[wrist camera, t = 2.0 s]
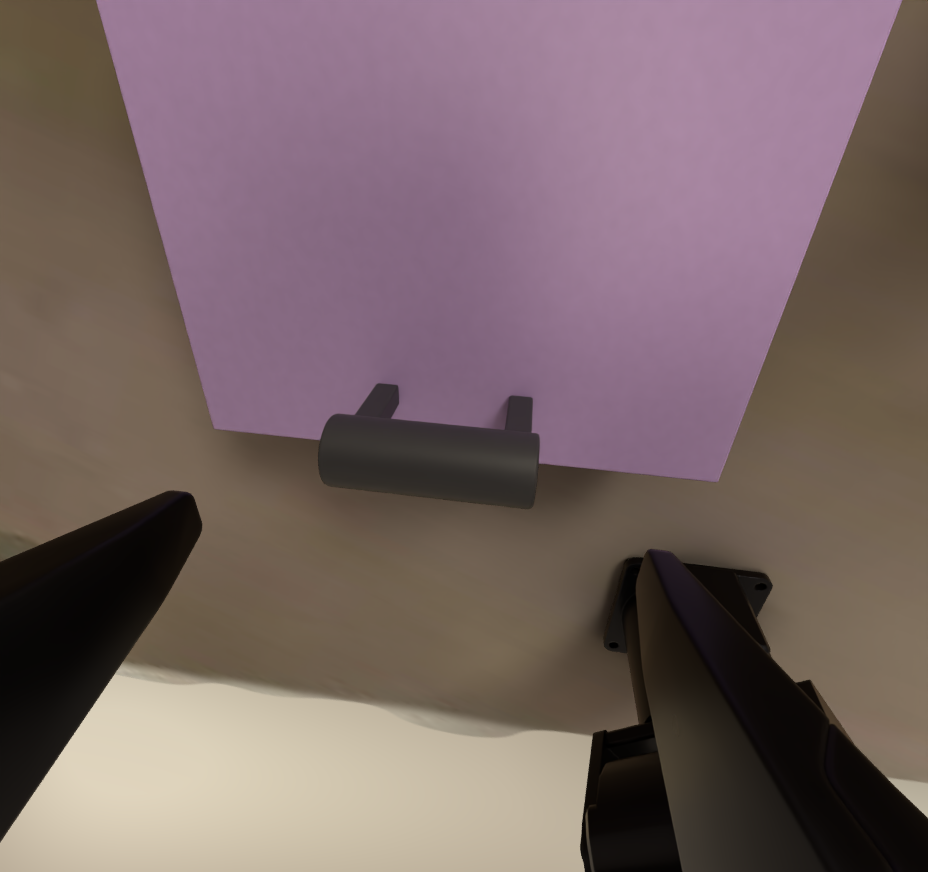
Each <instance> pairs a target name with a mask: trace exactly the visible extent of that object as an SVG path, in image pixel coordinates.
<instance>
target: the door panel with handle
mask: <svg viewBox="0 0 928 872" xmlns="http://www.w3.org/2000/svg"><path fill="white" fill-rule="evenodd" d="M96 1H97V5H98V9H99V12H100V16H101V20H102V23H103V27H104V31H105V34H106V38H107V42H108V45H109V49H110V52H111V56H112V60H113V63H114V67H115V71H116V74H117V78H118V82H119V85H120V89H121V93H122V96H123V100H124V103H125V107H126V111H127V114H128V118H129V122H130V125H131V129H132V133H133V136H134V140H135V144H136V147H137V151H138V154H139V158H140V162H141V165H142V169H143V173H144V176H145V180H146V184H147V187H148V191H149V195H150V198H151V202H152V205H153V209H154V213H155V216H156V220H157V224H158V227H159V231H160V235H161V238H162V242H163V246H164V249H165V253H166V256H167V260H168V264H169V267H170V271H171V275H172V278H173V282H174V286H175V289H176V293H177V296H178V300H179V304H180V307H181V311H182V315H183V318H184V322H185V326H186V329H187V333H188V337H189V340H190V344H191V347H192V351H193V355H194V358H195V362H196V366H197V369H198V373H199V377H200V380H201V384H202V388H203V391H204V395H205V398H206V402H207V406H208V409H209V413H210V417H211V420H212V424H213V428H214V429H218V430H228V431H237V432H247V433H256V434H265V435H275V436H284V437H294V438H303V439H313V440H320V444H319V452H318V466H319V473H320V477H321V479H322V481H323V482H324V484H326V485H328V486H331V487H340V488H348V489H357V490H366V491H374V492H383V493H392V494H400V495H409V496H417V497H426V498H435V499H443V500H452V501H461V502H469V503H478V504H487V505H495V506H504V507H512V508H521V509H531V508H532V507H533V504H534V499H535V493H536V485H537V476H538V466H539V464H549V465H558V466H568V467H577V468H586V469H596V470H605V471H615V472H624V473H634V474H643V475H653V476H662V477H671V478H681V479H690V480H700V481H709V482H718V480H719V478H720V475H721V472H722V470H723V467H724V465H725V462H726V459H727V457H728V454H729V452H730V449H731V446H732V444H733V441H734V438H735V436H736V433H737V431H738V428H739V425H740V423H741V420H742V418H743V415H744V412H745V410H746V407H747V405H748V402H749V399H750V397H751V394H752V391H753V389H754V386H755V384H756V381H757V378H758V376H759V373H760V371H761V368H762V365H763V363H764V360H765V357H766V355H767V352H768V350H769V347H770V344H771V342H772V339H773V337H774V334H775V331H776V329H777V326H778V323H779V321H780V318H781V316H782V313H783V310H784V308H785V305H786V303H787V300H788V297H789V295H790V292H791V290H792V287H793V284H794V282H795V279H796V276H797V274H798V271H799V269H800V266H801V263H802V261H803V258H804V256H805V253H806V250H807V248H808V245H809V242H810V240H811V237H812V235H813V232H814V229H815V227H816V224H817V222H818V219H819V216H820V214H821V211H822V208H823V206H824V203H825V201H826V198H827V195H828V193H829V190H830V188H831V185H832V182H833V180H834V177H835V174H836V172H837V169H838V167H839V164H840V161H841V159H842V156H843V154H844V151H845V148H846V146H847V143H848V141H849V138H850V135H851V133H852V130H853V127H854V125H855V122H856V120H857V117H858V114H859V112H860V109H861V107H862V104H863V101H864V99H865V96H866V93H867V91H868V88H869V86H870V83H871V80H872V78H873V75H874V73H875V70H876V67H877V65H878V62H879V59H880V57H881V54H882V52H883V49H884V46H885V44H886V41H887V39H888V36H889V33H890V31H891V28H892V25H893V23H894V20H895V18H896V15H897V12H898V10H899V7H900V5H901V2H902V0H96Z"/></svg>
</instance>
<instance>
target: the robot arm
mask: <svg viewBox="0 0 928 872" xmlns="http://www.w3.org/2000/svg"><path fill="white" fill-rule="evenodd" d="M201 531H202V521H201V518H200V515H199V512H198V509H197V505H196V502H195V499H194V497H193V496H192V495H191V494H190V493H188V492H182V491H174V490H173V491H167V492H164V493H162V494H159V495H157V496H155V497H152V498H150V499H148V500H145V501H143V502H141V503H138V504H136V505H133V506H131V507H129V508H126V509H124V510H122V511H119V512H117V513H115V514H112V515H110V516H107V517H105V518H103V519H100V520H98V521H96V522H93V523H91V524H89V525H86V526H84V527H81V528H79V529H77V530H74V531H72V532H70V533H67V534H65V535H63V536H60V537H58V538H56V539H53V540H51V541H48V542H46V543H44V544H41V545H39V546H37V547H34V548H32V549H30V550H27V551H25V552H22V553H20V554H18V555H15V556H13V557H11V558H8V559H6V560H4V561H1V562H0V842H1V841H2V839H3V838H4V836H5V835H6V833H7V832H8V830H9V829H10V827H11V826H12V824H13V823H14V821H15V820H16V818H17V817H18V816H19V814H20V813H21V811H22V809H23V808H24V807H25V805H26V804H27V802H28V801H29V799H30V798H31V796H32V795H33V793H34V792H35V790H36V789H37V787H38V786H39V784H40V783H41V782H42V780H43V779H44V777H45V776H46V774H47V773H48V771H49V770H50V768H51V767H52V765H53V764H54V763H55V761H56V760H57V758H58V757H59V755H60V754H61V752H62V751H63V749H64V747H65V746H66V745H67V743H68V742H69V740H70V739H71V737H72V736H73V735H74V733H75V732H76V730H77V729H78V727H79V726H80V724H81V723H82V721H83V720H84V718H85V717H86V715H87V714H88V712H89V711H90V709H91V708H92V707H93V705H94V703H95V702H96V701H97V699H98V698H99V696H100V695H101V693H102V692H103V690H104V689H105V687H106V686H107V684H108V683H109V681H110V680H111V679H112V677H113V676H114V674H115V673H116V671H117V670H118V668H119V667H120V665H121V664H122V662H123V661H124V659H125V658H126V656H127V655H128V654H129V652H130V651H131V649H132V648H133V646H134V645H135V643H136V642H137V640H138V639H139V637H140V636H141V634H142V633H143V631H144V630H145V628H146V627H147V626H148V624H149V623H150V621H151V620H152V618H153V617H154V615H155V614H156V612H157V611H158V609H159V608H160V606H161V605H162V603H163V601H164V600H165V598H166V596H167V595H168V593H169V591H170V590H171V588H172V586H173V584H174V582H175V580H176V579H177V577H178V575H179V573H180V571H181V569H182V568H183V566H184V564H185V562H186V560H187V558H188V557H189V555H190V553H191V551H192V549H193V547H194V546H195V544H196V542H197V540H198V538H199V536H200V534H201ZM637 567H638V569H633V568H637ZM758 583H760V584H758ZM772 586H773V585H772V583H771V581H770V579H769V577H768V576H767V575H766V574H764V573H760V572H752V571H743V570H735V569H727V568H719V567H711V566H703V565H695V564H687V563H681V561H680V560H679V559H678V558H677V557H676V556H675V555H674V554H673V553H671V552H669V551H663V550H655V549H650V550H647V552H646V553H645V555H644V558H638V557H636V558H630V559H628V560H627V561H626V562H625V564H624V568H623V571H622V575H621V578H620V581H619V585H618V588H617V592H616V595H615V599H614V602H613V606H612V609H611V613H610V616H609V619H608V623H607V626H606V630H605V633H604V637H603V640H604V647H605V648H606V649H607V650H610V651H615V652H622V653H627V655H628V661H629V667H630V673H631V679H632V685H633V691H634V697H635V703H636V709H637V715H638V721H639V724H638V725H634V726H630V727H626V728H622V729H618V730H614V731H610V732H607V731H606V730H603V731H599V732H595V733H593V739H592V747H591V755H590V764H589V771H588V779H587V788H586V796H585V804H584V813H583V820H582V835H581V844H580V850H581V856H582V859H583V862H584V868H585V872H928V818H927V817H926V816H925V815H924V814H923V813H922V812H921V811H920V810H919V809H918V808H917V807H916V806H915V805H914V804H913V803H912V802H910V800H908V799H907V798H906V797H905V796H904V795H903V794H902V793H901V792H900V791H899V790H898V789H897V788H896V787H895V786H894V785H893V784H892V783H891V782H890V781H889V780H888V779H887V778H886V777H885V776H884V775H883V774H882V773H881V772H880V771H879V770H878V769H877V768H876V767H875V766H874V765H873V764H872V763H871V761H870V760H869V759H868V758H867V757H866V756H865V755H864V754H863V753H862V752H861V751H860V750H859V749H858V748H857V747H856V746H855V745H854V743H853V742H852V740H851V739H850V737H849V736H848V734H847V733H846V731H845V730H844V728H843V727H842V725H841V724H840V723H839V721H838V720H837V718H836V717H835V715H834V714H833V712H832V711H831V709H830V708H829V706H828V705H827V703H826V702H825V701H824V699H823V698H822V696H821V695H820V693H819V692H818V690H817V689H816V687H815V686H814V684H813V683H812V681H811V680H806V681H802V682H798V683H795V682H794V681H793V680H792V679H791V678H790V677H789V676H788V675H787V673H786V672H785V671H784V670H783V669H782V668H781V667H780V666H779V665H778V664H777V663H776V662H775V661H774V660H773V659H772V657H771V655H770V647H769V644H768V642H767V640H766V638H765V636H764V634H763V631H762V629H761V627H760V625H759V623H758V620H757V616H758V614H759V612H760V610H761V608H762V606H763V604H764V603H765V601H766V599H767V597H768V595H769V593H770V591H771V589H772Z"/></svg>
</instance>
